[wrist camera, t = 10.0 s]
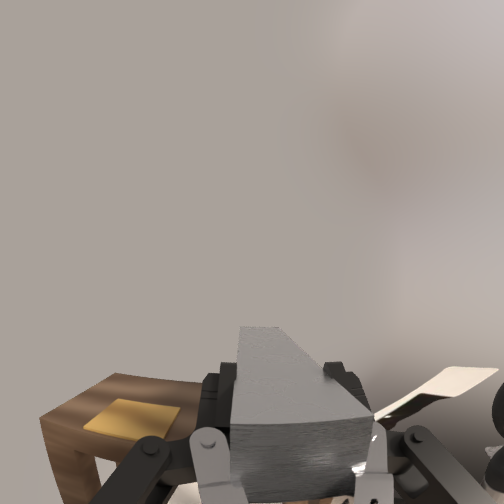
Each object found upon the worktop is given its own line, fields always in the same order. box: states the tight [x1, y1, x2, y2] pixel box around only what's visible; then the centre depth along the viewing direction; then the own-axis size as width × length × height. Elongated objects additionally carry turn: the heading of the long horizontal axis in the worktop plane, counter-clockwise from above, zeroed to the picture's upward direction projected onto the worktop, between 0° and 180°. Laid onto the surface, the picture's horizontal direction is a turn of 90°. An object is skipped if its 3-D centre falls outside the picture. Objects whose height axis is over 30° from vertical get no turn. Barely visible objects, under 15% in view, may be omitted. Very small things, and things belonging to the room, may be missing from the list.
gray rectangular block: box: [230, 327, 374, 503], centre depth 19 cm, size 24×4×3 cm, turn 2°
